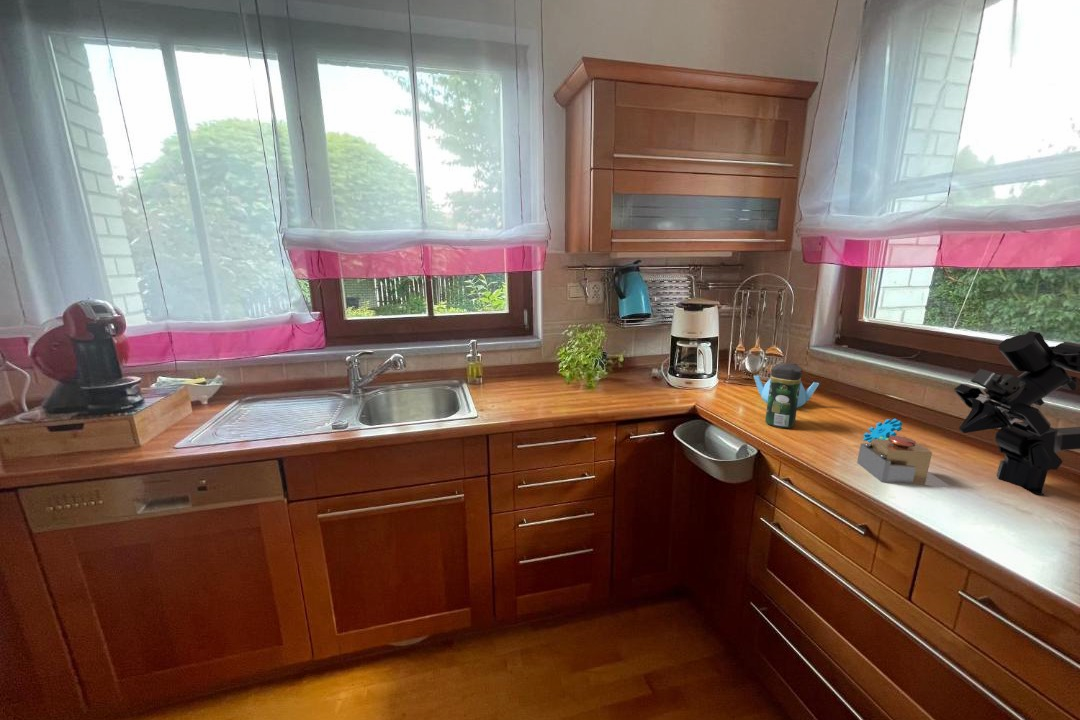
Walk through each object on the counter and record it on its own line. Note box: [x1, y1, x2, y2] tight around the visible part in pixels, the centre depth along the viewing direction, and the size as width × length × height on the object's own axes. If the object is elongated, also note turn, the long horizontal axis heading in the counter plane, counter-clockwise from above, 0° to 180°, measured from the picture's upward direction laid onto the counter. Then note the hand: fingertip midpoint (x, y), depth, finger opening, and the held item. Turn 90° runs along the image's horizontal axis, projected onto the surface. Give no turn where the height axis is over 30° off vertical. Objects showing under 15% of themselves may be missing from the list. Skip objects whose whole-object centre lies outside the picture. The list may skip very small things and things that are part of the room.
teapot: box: [753, 375, 820, 409], centre depth 156 cm, size 15×15×11 cm
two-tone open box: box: [856, 442, 952, 488], centre depth 103 cm, size 14×10×7 cm
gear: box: [862, 418, 903, 444], centre depth 121 cm, size 11×6×10 cm
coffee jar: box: [764, 361, 803, 429], centre depth 135 cm, size 10×8×19 cm
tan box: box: [870, 435, 933, 481], centre depth 103 cm, size 9×6×8 cm, turn 83°
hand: (961, 431), depth 100 cm, fingers closed
